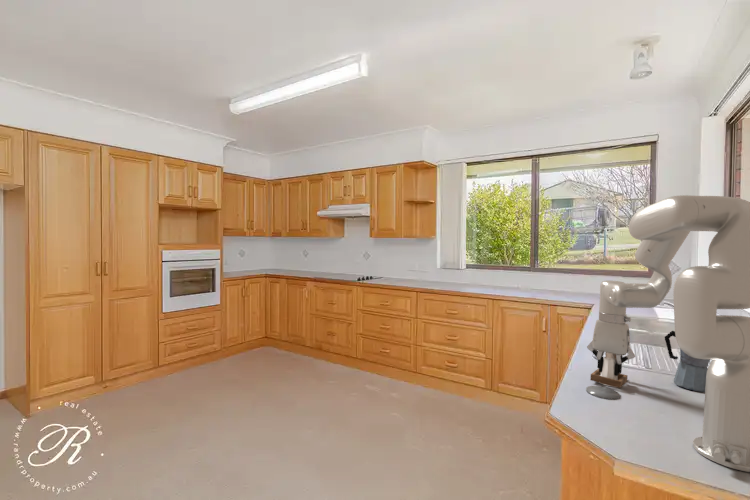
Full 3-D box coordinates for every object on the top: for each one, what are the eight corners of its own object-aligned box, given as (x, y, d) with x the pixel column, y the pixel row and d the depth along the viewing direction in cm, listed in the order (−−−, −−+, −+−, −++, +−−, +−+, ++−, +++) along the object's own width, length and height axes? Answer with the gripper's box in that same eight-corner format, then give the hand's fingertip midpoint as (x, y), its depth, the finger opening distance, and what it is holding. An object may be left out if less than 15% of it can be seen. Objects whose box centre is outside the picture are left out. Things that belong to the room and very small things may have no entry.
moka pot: (726, 395, 120) (730, 332, 119) (671, 390, 123) (674, 328, 122) (707, 384, 129) (710, 325, 129) (655, 379, 133) (659, 322, 132)
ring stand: (620, 391, 121) (622, 341, 121) (590, 383, 127) (592, 335, 127) (630, 380, 131) (633, 334, 130) (602, 373, 137) (604, 329, 136)
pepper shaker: (620, 383, 127) (621, 351, 127) (615, 388, 124) (617, 354, 123) (601, 379, 131) (603, 347, 131) (597, 383, 127) (598, 350, 127)
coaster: (615, 402, 113) (615, 400, 113) (581, 392, 119) (582, 390, 119) (623, 393, 119) (623, 392, 119) (591, 385, 126) (591, 383, 126)
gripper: (644, 321, 123) (641, 377, 124) (587, 312, 135) (585, 363, 136) (639, 324, 118) (636, 383, 119) (580, 315, 130) (578, 368, 131)
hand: (609, 372), depth 127 cm, fingers closed on pepper shaker, 4 cm apart
